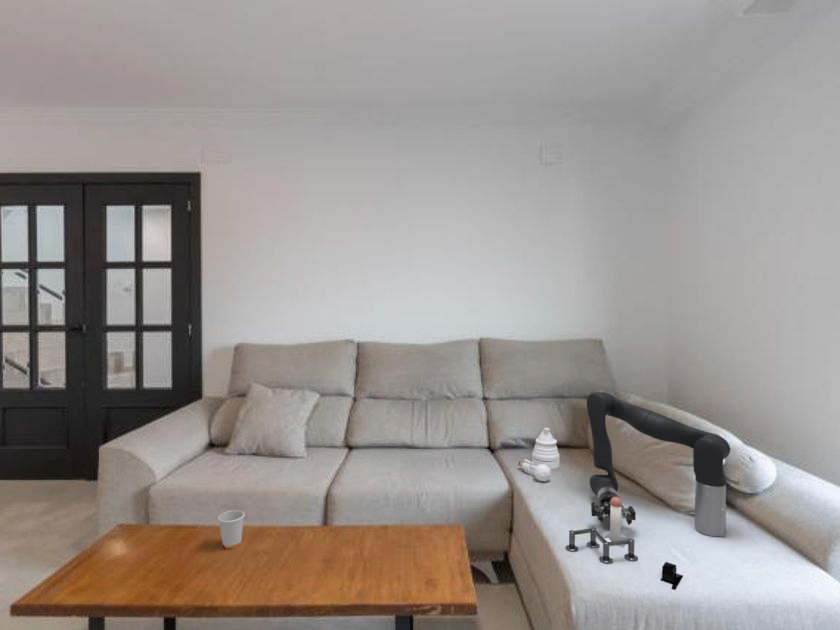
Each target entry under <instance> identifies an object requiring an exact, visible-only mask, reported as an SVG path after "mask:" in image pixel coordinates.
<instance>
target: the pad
mask: <svg viewBox="0 0 840 630" xmlns="http://www.w3.org/2000/svg"><path fill="white" fill-rule="evenodd" d="M583 529H589V528H588V527H584V526H581V525H576V526H575V527H574V528H573V529H572V530H573V531H576V530H583ZM596 531H597V532H598V533H599V534H600V531H599V530H596ZM575 538H581V539H583V540H587V541H590V533H584V534H577V535H575Z"/></svg>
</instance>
